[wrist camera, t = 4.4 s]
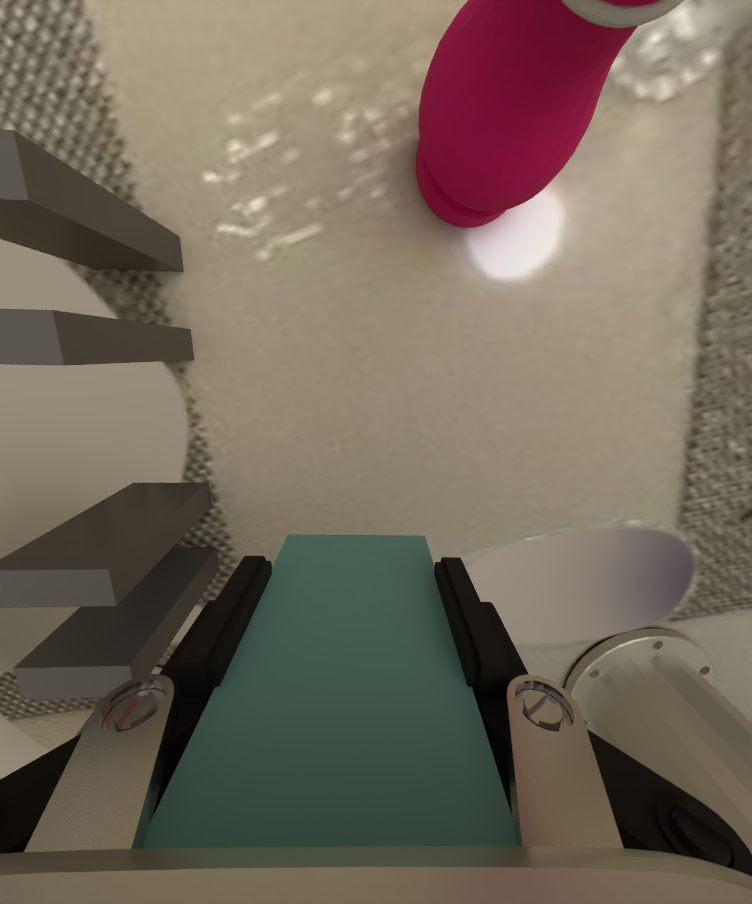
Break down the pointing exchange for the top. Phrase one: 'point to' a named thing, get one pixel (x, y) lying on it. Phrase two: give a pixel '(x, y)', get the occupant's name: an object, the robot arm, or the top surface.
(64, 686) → the domino
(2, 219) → the domino
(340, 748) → the domino
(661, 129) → the top surface
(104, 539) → the domino
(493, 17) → the pepper mill
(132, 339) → the domino
